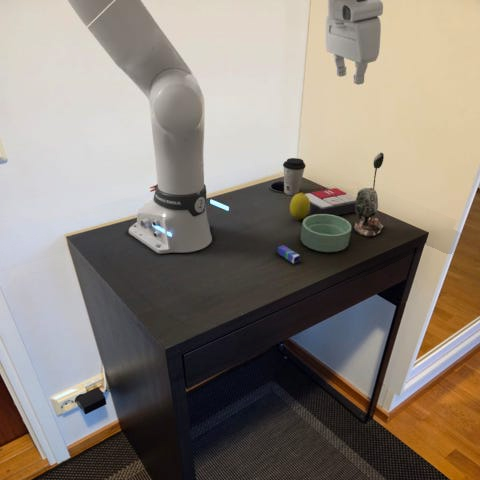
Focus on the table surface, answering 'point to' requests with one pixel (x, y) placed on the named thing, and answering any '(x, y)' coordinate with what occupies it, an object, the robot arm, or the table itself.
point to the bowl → (325, 232)
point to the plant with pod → (368, 206)
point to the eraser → (288, 254)
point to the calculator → (331, 202)
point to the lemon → (299, 206)
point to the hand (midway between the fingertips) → (349, 79)
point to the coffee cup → (293, 175)
